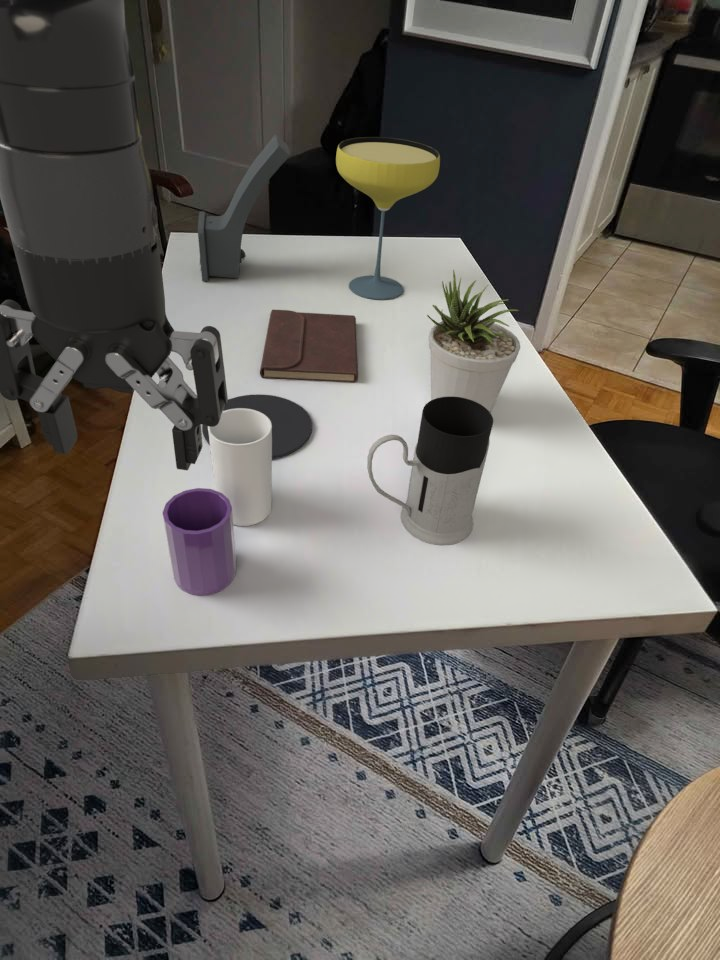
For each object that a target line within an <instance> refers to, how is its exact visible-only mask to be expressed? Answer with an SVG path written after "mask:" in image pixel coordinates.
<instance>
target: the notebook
mask: <svg viewBox="0 0 720 960" xmlns="http://www.w3.org/2000/svg"><path fill="white" fill-rule="evenodd" d="M357 344H358V340H357V318H356V316H355V315H354V314H353V315H350V314H336V313H335V314H333V313H332V314H331V313H316V312H300V311H295V310H289V309H271V311H270V314H269V319H268V325H267V331H266V336H265V340H264V348H263V352H262V357H261V358H262V359H261V364H260V367H259V376H260V377H261V378H262V379H273V380H276V379H277V380H297V381H315V382H316V381H318V382H337V383H357V382H358V380H359V366H358V345H357Z"/></svg>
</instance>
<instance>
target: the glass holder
mask: <svg viewBox="0 0 720 960" xmlns="http://www.w3.org/2000/svg"><path fill="white" fill-rule="evenodd" d="M493 426H494V417H493V415H492V413H491V412H489V411H488V410H487V409H486V408H485V407H484V406H482V405H481V404H479V403H477V402H475V401H472V400H470V399H466V398H462V397H454V396H447V397H440V398H436V399H433V400H431V399H430V400H429V401H428V402H426V403H425V405H424V406H423V408H422V411H421V417H420V425H419V430H418V436H417V443H416V444H415V447H414V452H413V459H412V460H409V459H408V458H409V447H408V443H407V442H406V440H405V439H404V437H402V436H400V435H397V434H388V435H385V436H381V437H380V438H378V439H377V440H376V441H375V442H373V444H372V445H371V446H370V448H369V450H368V453H367V464H366V465H367V466H366V469H367V474H368V479H369V480H370V482H371V485H372V486H373V487H374V489H375V490H376V492H377V493H378V494H380V496H382V497H384V498H386V499H387V500H389V501H390V502H391V503H395V504H396V505H398V506H400V507H401V512H400V520H401V523H402V525H403V527H404V529H405V530H406V531H407V532H408V533H409V534H410V535H411V536H412V537H414V538H416V539H418V540H419V541H422V542H425V543H427V544H432V545H436V546H437V545H438V546H449V545H454V544H457V543H460V542H462V541H464V540H465V539H467V538H468V537H469V536H470V534H472V531H473V528H474V518H473V512H474V509H475V505H476V501H477V495H478V492H479V488H480V484H481V481H482V476H483V472H484V468H485V465H486V461H487V457H488V452H489V447H490V438H491V433H492V431H493V430H492V429H493ZM391 441H398V442H399V443H401V445H402V447H403V449H402V450H403V451H402V459H403V462H404V464H405V465H407V466H409V467H411V471H410V477H409V483H408V489H407V497H406V502H404V501H402V500H401V499H399V498H396V497H394V496H393V495H390V494H389V493H387V492H386V491H384V490H383V489H382V488H380V487H379V485H378V484H377V482H376V480H375V478H374V474H373V458H374V455H375V452H376V451H377V449H378V448H379V447H381V446H382V445H383V444H385V443H388V442H391Z"/></svg>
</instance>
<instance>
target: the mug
mask: <svg viewBox="0 0 720 960" xmlns="http://www.w3.org/2000/svg"><path fill="white" fill-rule="evenodd" d="M208 432H209V442H210V445H209V449H210V457H211V464H212V471H213V472H212V473H213V481H214V488H215V489H214V490H215V491H218V492H221V493H222V494H223V495H225V496H226V497H227V498H228V499H229V501H230V503H231V506H232V514H233V526H239V527H249V526H253V525H257V524H260V523H261V522H263V521H264V520H265V519H267V518H268V516H269V515H270V513H271V511H272V494H273V493H272V492H273V481H272V479H273V459H272V424H271V421H270V419H269V418H268V417H267V416H266V415H264V414H263V413H261V412H259V411H256V410H252V409H245V408H236V409H229V410H225V411H223V412H222V414H221V418H220V421H219V423H218V425H216V426H214V427H210V426H208Z"/></svg>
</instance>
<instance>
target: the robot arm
mask: <svg viewBox="0 0 720 960" xmlns="http://www.w3.org/2000/svg"><path fill="white" fill-rule="evenodd" d="M125 1H126V0H0V202H1V207H2V210H3V214H4V217H5V221H6V226H7V229H8V233H9V236H10V237H9V238H10V240H11V244H12V248H13V252H14V255H15V259H16V263H17V267H18V271H19V274H20V279H21V282H22V285H23V286H22V287H23V290H24V294H25V298H26V301H27V305H28V307H29V309H30V311H27V310H23V308H22V306H21V305H20V304H19V303H18V302H17V301H15V300H13V299H5V300H4V301H3V302H2V303H1V304H0V395H1V396H2V397H3V398H4V399H6V400H7V401H12V402H13V401H16V400H18V399H21V400H23V401H25V402H27V403H29V405H30V407H31V408H33V410H34V411H36V413H37V417H38V421H39V423H40V427H41V430H42V434H43V437H44V440H45V441H46V442H47V444H48V445H49V446H52V448H53V451H54V453H55V454H59V455H69V453H70V451H71V450H72V449H73V447H74V445H75V444H76V443H77V442H78V441H77V440H78V430H77V427H76V422H75V419H74V413H73V410H72V406H71V405H72V404H71V402H70V398H69V395H67V394H63V391H64V390H65V388H66V387H67V386H68V384H69V383H70V382H71V380H72V379H73V380H76V381H77V382H78V383H81V384H82V385H83V388H86V389H94V390H98V389H110V390H113V391H116V392H118V393H124V394H133V393H134V392H136V393H137V395H138V396H140V397H141V398H142V400H143V401H144V402H145V403H146V404H147V405H148V406H149V407H150V408H151V409H154V410H160V412H161V413H163V415H165V417H166V419H168V420H169V422H171V423H172V424H173V427H172V429H171V433H172V440H173V441H172V442H173V450H174V459H175V467H176V469H177V470H180V471H189V469H190V467H191V465H196V462H197V461H198V458H199V457H200V454H201V451H202V449H203V447H204V446H203V445H204V444H203V432H202V424H205V425H207V426H210V427H214V426H216V425H218V423H219V421H220V418H221V414H222V412H223V410H224V408H225V407H226V404H227V402H228V399H229V395H228V388H227V380H226V379H227V378H226V372H225V371H226V370H225V364H224V354H223V347H222V338H221V333H220V331H219V330H218V328H216V327H215V326H211V325H206V326H204V327H203V328H202V329H201V331H200V332H192V331H179V330H178V331H177V330H175V329H174V328H173V326H172V325H171V322H170V321H169V318H168V317H167V313H166V297H165V296H166V295H165V288H164V280H163V279H164V278H163V271H162V261H161V260H162V259H161V251H160V243H159V242H160V241H159V233H158V225H159V216H158V208H157V206H156V203H155V197H154V190H153V183H152V177H151V173H150V168H149V165H148V160H147V157H146V152H145V149H144V148H145V147H144V144H143V136H142V128H141V120H140V111H139V110H140V109H139V103H138V95H137V84H136V76H135V70H134V64H133V63H134V61H133V56H132V51H131V45H130V41H129V40H130V39H129V35H128V28H127V20H126V19H127V18H126V17H127V16H126V3H125ZM32 338H34V339H35V340H36V342H37V343H38V344H39V345H40V346H41V347H42V348H43V349H44V350H45V351H46V352H47V353H48V354H49V355H50V356H51V357H52V358H53V359H54V360H55V363H54V364H53V365H52V366H51V367H50V369H49V371H48V372H47V373H46V375H45V376H44V377H42V376H39V375H37V374H36V370H35V369H36V368H35V364H34V360H33V355H32V350H31V346H30V340H31V339H32ZM171 353H176V354H178V355H179V356H180V357H181V359H182V361H183V364H184V365H185V369H186V370H188V371H192V372H193V373H192V374H193V379H194V385H195V392H194V390H193V389H192V388H191V387H190V386H189V384H187V382H186V381H185V379H184V374H183V371H181V369H180V368H179V367H178V366H177V365H176V364H175V362H173V360H172V359H171V358H170V355H171ZM155 374H156V375H157V376H158V378H159V382H158V383H157V382H156V381H155V380H154V379H153V377H154V376H155Z"/></svg>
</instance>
